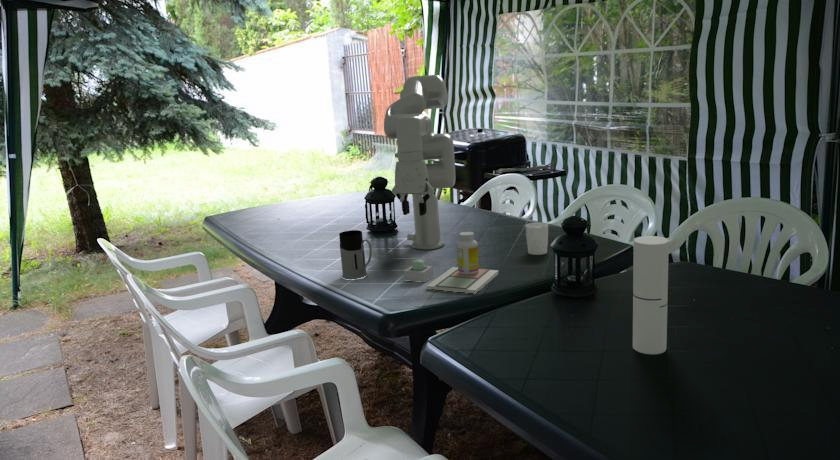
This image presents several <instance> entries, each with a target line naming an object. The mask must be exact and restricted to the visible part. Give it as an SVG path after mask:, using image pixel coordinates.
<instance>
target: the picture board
mask: <svg viewBox="0 0 840 460" xmlns="http://www.w3.org/2000/svg"><path fill="white" fill-rule="evenodd" d="M498 275H499V270H496V269H490V268H481V267H479V272H478V273H476V274H472V275H463V274H460V273H459V271H458V266H452V267H451V268H448V270H446V271H445V272H444V273H442V274H441V275H439V276H438V277H436V278H435V279H434V280H432V281H431V282H430V283H429V284H427V285H426V289H427V288H428V289H437V290H444V291H443V292H447V291H453V292H452V293H457V292H465V293H464V294H468V293H473V294H472V295H477V294H478V293H479V292H480V291H481V290H482V289H484V287H486V286H487V285H488V284H489V283H490V282H491V281H493V280H494V279H495V278H496V277H497V276H498ZM485 285H486V286H485ZM478 291H479V292H478ZM477 292H478V293H477ZM476 293H477V294H476Z"/></svg>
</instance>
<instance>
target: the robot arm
mask: <svg viewBox="0 0 840 460" xmlns="http://www.w3.org/2000/svg"><path fill="white" fill-rule="evenodd" d="M448 101H449V96H448V89H447V85H446V83H445V80H444V79H443V77H442V76H441V75H438V74H430V75H429V74H428V75H427V74H426V75H415V76H410V77H408V78H407V79H406V80H405V81H404V83H403V87H402V89H401V90H400V93H399V99H397V100H396V101H394V102H392V103H391V104H390V105H389V106H388V107H387V109H386V110H385V113H384V118H383V120H384V121H383V132H384V134H385V136H386V138H388V139H392V140H396V144H397V145H396V147H397V152H395V153H394V158H397V160H398V161H396V162H395V167H394V168H395V169H394V186H393V187H392V189H391V193H392V194H393V195H395V197H396V198H397V199H398V200H399V203H401V211H402V215H403V216H406V215H408V214H410V202H409V200H408V198H409V195H412V207H413V220H414V234H409V233H408V234H407V236H406V239H407V241H412V243H411V247H412V248H413V249H416V250H422V251H423V250H424V251H427V250H435V249H439V248H443V247H444V246H445V245H446V242H445V240H443V239H441V228H440V226H441V225H440V212H439V211H440V210H439V200H438V197H437V196H436V194H435V193H436V190H437V189H439V190H440V189H450V188H453V187H454V186H455V184H456V177H457V176H456V163H455V162H456V160H455V158H456V157H455V147H454V146H455V145H454V141H453V138H452V136H451V135H450V134H448V133H434V131H433V129H434V127H433V126H434V125H433V120H432V118H431V117H430V115H429V114H428V113H427V112H426V111H425V110H433V109H434V110H436V109H443V108H445V107H447V104H448ZM433 160H434V161H435V160H441V161H442V162H436V163H433V162H432V163H431V162H429V163H426V161H433ZM435 189H436V190H435Z"/></svg>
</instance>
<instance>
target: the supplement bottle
mask: <svg viewBox="0 0 840 460" xmlns="http://www.w3.org/2000/svg"><path fill="white" fill-rule="evenodd" d="M474 237H475V233H474V232H472V231H463V232H459V234H458V239H459V241H458V242H457V243H456V254H457V255H456V256H457V267H458V271H459V273H460V274H463V275H472V274H476V273H478V272H479V268H480V264H479V263H480V262H479V244H478V241H476V240H475V238H474Z"/></svg>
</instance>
